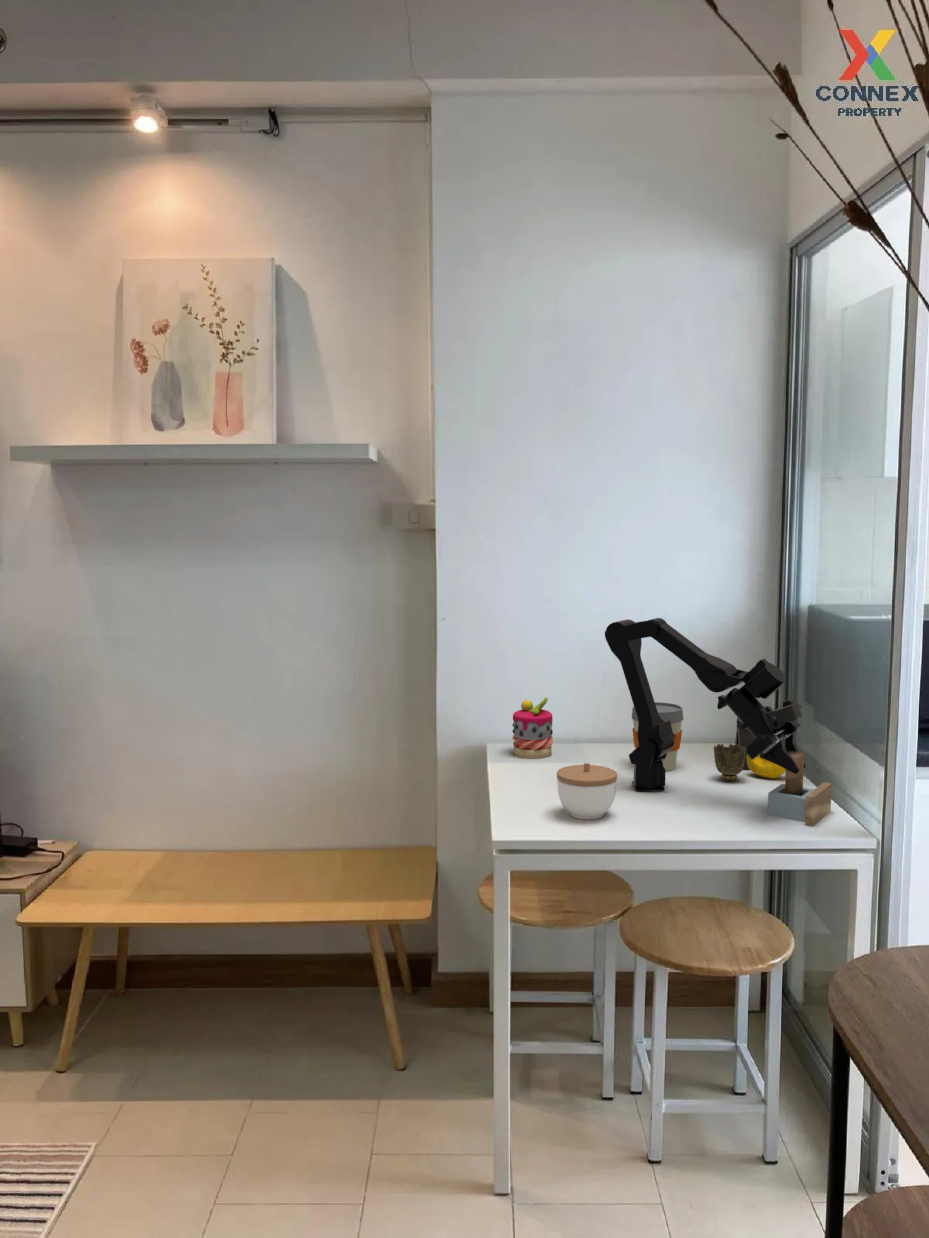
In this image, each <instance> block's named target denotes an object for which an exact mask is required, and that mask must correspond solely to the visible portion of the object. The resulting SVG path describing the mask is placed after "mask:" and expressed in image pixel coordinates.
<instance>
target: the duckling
mask: <svg viewBox="0 0 929 1238" xmlns="http://www.w3.org/2000/svg"><path fill="white" fill-rule="evenodd" d="M764 754H765V753H764ZM747 765H748V768H749V769H750V770H749V771H750V772H752V773H753V774H754V775H756V776H758V777H762V778H766V779H777V778H779V777H780V776H782V775H783V774H784V773H785V768H783V767H781V766H779V765H777V764H774V763H772V762H770V761H768V760H765V759H761V758H760V756H759V755H758V756H757V757H756V758H754V759H753V760H751V759H750V758H749V756H748V755H747Z"/></svg>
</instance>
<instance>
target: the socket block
mask: <svg viewBox="0 0 929 1238" xmlns="http://www.w3.org/2000/svg"><path fill="white" fill-rule="evenodd" d="M815 789H816V788H811V787H810V788H809V787H804V786H803V796H797V795H791V794H785V783H781V784H779V785H778V786H777V787H775V788H774V789H772V790H769V792H768V793H767V795H768V796H767V816H771V817H776V818H780V819H781V818H782V819H788V820H792V821H797V822H798V821H799V822H804V823H805V805H806V796H807V795H808V794H809V793H811V792H812V791H813V790H815Z"/></svg>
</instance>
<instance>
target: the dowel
mask: <svg viewBox="0 0 929 1238" xmlns="http://www.w3.org/2000/svg"><path fill="white" fill-rule="evenodd" d="M788 753H789V755H790V756H791V758H792V759H793V761H794V762H795V764H796V765H797V767H798V769H799V772H798V773H797V774H795V773H793V772H791V771H789V770H787V769H785V772H784V773H785V774H784V775H785V776H784V784H785V794H791V795H797V796H803V787H804V769H805V768H804V764H805V753H803V752H801V751H799V752H796V751H789V752H788Z"/></svg>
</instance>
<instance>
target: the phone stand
mask: <svg viewBox="0 0 929 1238" xmlns="http://www.w3.org/2000/svg"><path fill="white" fill-rule="evenodd" d="M742 724H743V723H742V722H741V721H740V719H739V718H738V717H736V731H735V732H736V733H735V742H734V745H735V744H737V745H739V747H741V746H743V749H744V747H745V748H746V747H747V746H748V745H749V744H750V743H751V742H753V741H754V740H755V739H756V738H755V737H754V736H753V735H752V733H751V732H750V731H749V730H748V729H747V728H746V729H743V728H742V727H741V725H742ZM763 754H764V752H763V751H762V752H761V753H760V754H759V756H760V757H761V756H762V755H763ZM742 771H751V770H750V769H749V768H748V765H747V754H746V755H745V762H744V767H743V769H742Z"/></svg>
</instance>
